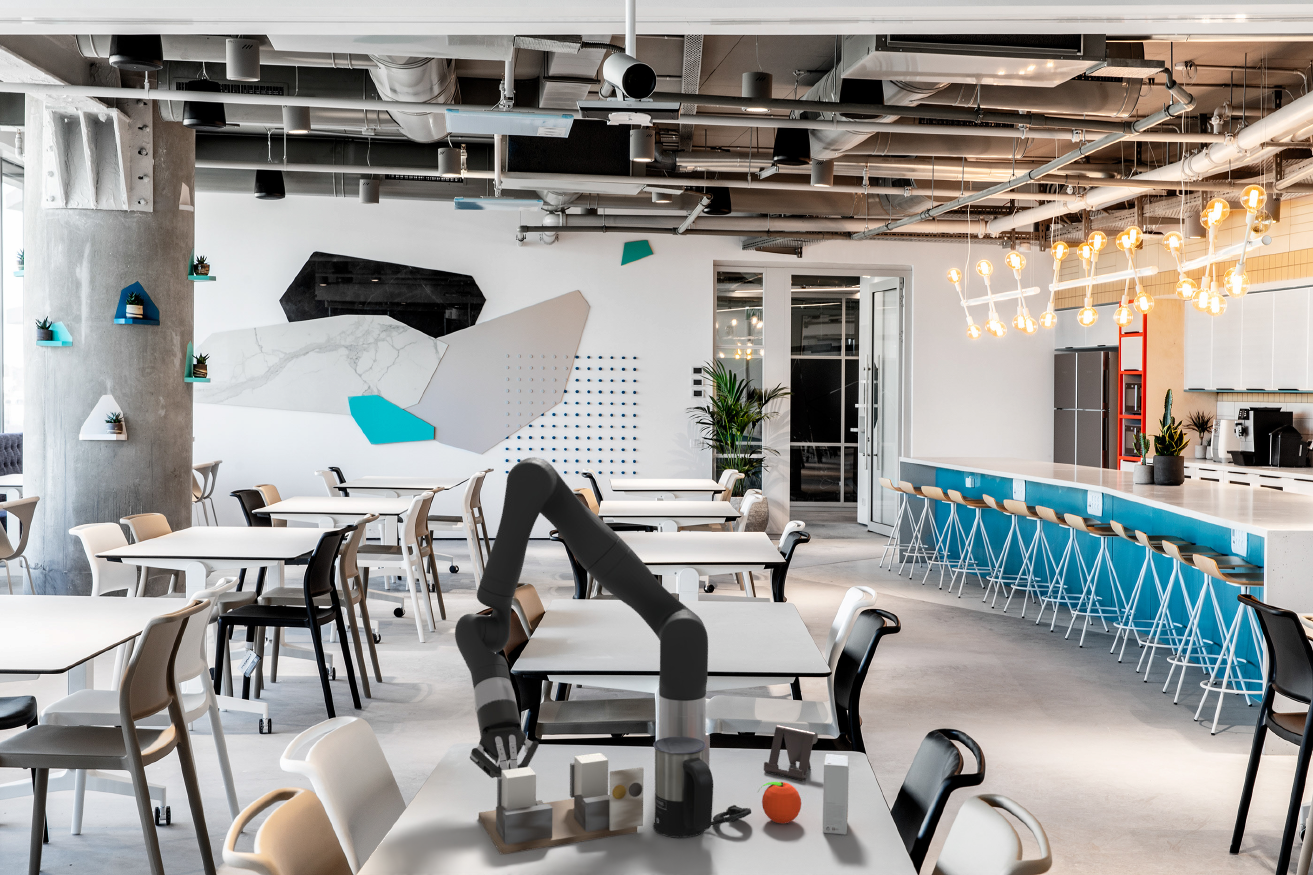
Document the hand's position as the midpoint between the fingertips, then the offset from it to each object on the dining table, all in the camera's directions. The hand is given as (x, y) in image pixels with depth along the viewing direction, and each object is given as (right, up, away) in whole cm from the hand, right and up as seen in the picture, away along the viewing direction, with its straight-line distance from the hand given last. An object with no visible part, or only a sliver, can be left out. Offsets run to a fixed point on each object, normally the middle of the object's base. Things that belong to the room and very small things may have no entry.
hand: (513, 796), depth 180 cm
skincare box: (+56, -6, 0) cm, 57 cm away
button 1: (+1, -4, -3) cm, 5 cm away
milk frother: (+33, -5, 0) cm, 34 cm away
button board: (+8, -5, 0) cm, 9 cm away
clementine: (+47, -5, +2) cm, 47 cm away
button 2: (+13, -3, +5) cm, 14 cm away
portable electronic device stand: (+52, -5, +27) cm, 59 cm away
